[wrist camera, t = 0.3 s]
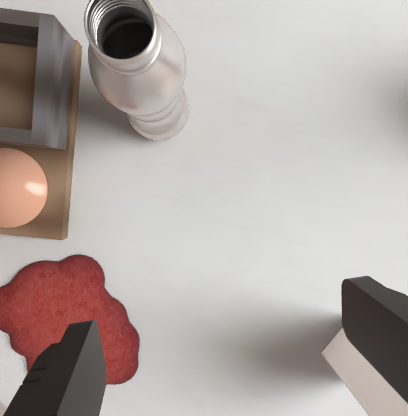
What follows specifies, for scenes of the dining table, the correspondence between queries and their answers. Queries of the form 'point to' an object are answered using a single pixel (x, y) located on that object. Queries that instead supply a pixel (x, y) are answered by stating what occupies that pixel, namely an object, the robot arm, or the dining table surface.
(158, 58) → the plastic bottle
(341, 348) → the milk
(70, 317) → the red flat piece
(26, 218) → the terracotta coaster
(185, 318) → the dining table surface
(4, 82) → the wooden organizer tray
